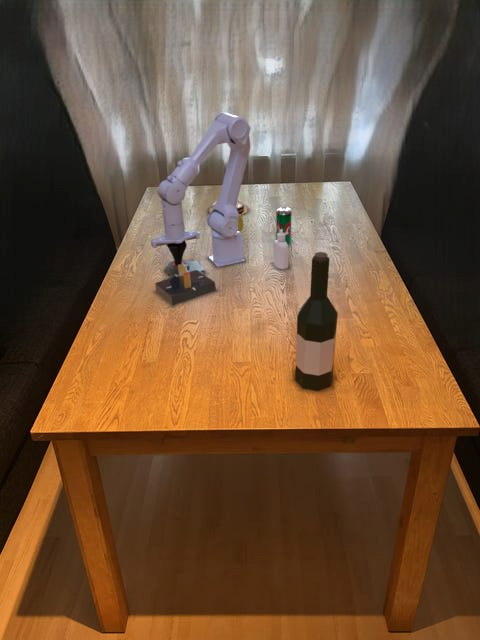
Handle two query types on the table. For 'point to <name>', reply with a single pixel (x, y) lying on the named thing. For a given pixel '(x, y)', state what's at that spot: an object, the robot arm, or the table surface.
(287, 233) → the soda can
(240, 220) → the lemon
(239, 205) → the sushi roll
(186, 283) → the gold rectangular bar
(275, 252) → the eye dropper bottle
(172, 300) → the block
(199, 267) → the button box
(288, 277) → the table surface
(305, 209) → the table surface
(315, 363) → the wine bottle
